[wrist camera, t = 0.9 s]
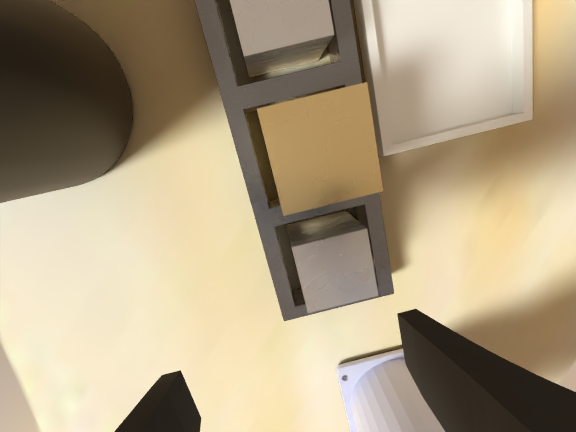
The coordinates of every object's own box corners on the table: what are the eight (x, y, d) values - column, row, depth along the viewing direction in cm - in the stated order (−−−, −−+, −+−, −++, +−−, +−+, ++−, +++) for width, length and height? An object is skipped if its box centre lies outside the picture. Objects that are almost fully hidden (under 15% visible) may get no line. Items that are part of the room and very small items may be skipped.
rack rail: (381, 278, 20) (409, 311, 16) (282, 303, 20) (286, 342, 16) (326, -62, 14) (347, -137, 11) (190, -30, 14) (162, -93, 11)
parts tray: (514, 121, 18) (532, 119, 16) (376, 155, 18) (383, 156, 16) (512, -49, 15) (532, -65, 14) (351, -11, 15) (358, -23, 14)
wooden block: (338, 172, 18) (383, 191, 11) (277, 188, 18) (283, 216, 11) (326, 106, 17) (367, 81, 10) (260, 122, 17) (256, 108, 10)
